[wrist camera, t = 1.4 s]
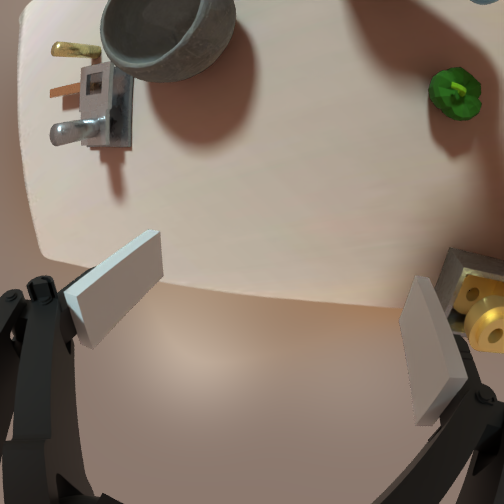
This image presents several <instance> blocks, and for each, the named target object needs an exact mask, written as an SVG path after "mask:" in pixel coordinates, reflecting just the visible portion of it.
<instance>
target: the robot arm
mask: <svg viewBox="0 0 504 504" xmlns="http://www.w3.org/2000/svg"><path fill="white" fill-rule="evenodd" d="M470 1H472V2H474V3H476V4H480V5H487V4H491V3H494V2H496V1H498V0H470ZM163 276H164V275H163V264H162V252H161V238H160V231H155V230H149V229H148V230H147V231H145V232H144V233H142V234H141V235H139V236H138V237H136V238H135V239H134V240H132V241H131V242H129V243H128V244H127V245H125V246H124V247H122V248H121V249H120V250H118V251H117V252H115V253H114V254H113V255H111V256H110V257H109V258H107V259H106V260H105V261H103V262H102V263H101V264H99V265H98V266H95V267H93V268H90V269H88V270H87V271H85V272H84V273H83V274H81V276H79V277H77V278H76V279H75V281H72V282H71V283H70V284H68V285H67V286H66V287H64V288H63V289H62V290H60V291H59V292H58V293H57V291H56V287H55V284H54V280H53V278H52V277H51V276H39V277H36V278H34V279H32V280H31V281H30V282H28V284H27V289H28V293H29V296H30V298H31V300H25V298H24V296H23V293H22V291H21V290H19V289H14V290H13V289H12V290H9V291H7V292H6V293H4V294H3V295H2V296H1V297H0V462H1V457H2V470H3V490H4V503H5V504H123V503H121V502H119V501H117V500H115V499H113V498H111V497H110V496H108V495H106V494H104V493H102V495H101V497H96V496H94V493H93V490H92V488H91V486H90V484H89V482H88V480H87V477H86V474H85V470H84V464H83V458H82V452H81V445H80V437H79V428H78V419H77V407H76V394H75V372H74V371H75V370H74V369H75V368H74V342H73V339H72V338H73V337H74V336H75V335H76V334H77V335H78V338H79V341H80V344H82V345H84V346H86V347H89V348H91V349H94V348H95V347H96V346H97V345H98V344H99V343H100V342H101V341H102V339H103V338H104V337H105V336H106V335H107V334H108V333H109V332H110V331H111V330H112V329H113V328H114V327H115V326H116V324H117V323H118V322H119V321H120V320H121V319H122V318H123V317H124V316H125V315H126V314H127V313H128V312H129V311H130V310H131V309H132V308H133V306H135V305H136V304H137V303H138V301H139V300H140V299H141V298H142V297H143V296H144V295H145V294H146V293H147V292H148V291H149V290H150V289H151V288H152V287H153V286H154V285H155V284H156V283H157V282H158V281H159V280H160V279H161V278H162V277H163ZM399 324H400V329H401V334H402V339H403V344H404V350H405V356H406V361H407V367H408V374H409V381H410V388H411V394H412V403H413V411H414V421H415V426H432V425H433V424H434V423H435V422H436V421H437V419H438V418H439V417H440V423H441V426H440V427H439V428H438V429H437V430H436V432H435V433H434V434H433V435H432V436H431V437H430V438H429V439H428V442H427V444H426V445H425V446H424V447H423V449H422V450H421V451H420V452H419V453H418V455H417V456H416V457H415V458H414V460H413V461H412V462H411V463H410V464H409V465H408V466H407V467H406V469H405V470H404V471H403V472H402V473H401V474H400V475H399V477H397V479H396V480H395V481H394V482H393V483H392V484H391V485H390V486H389V487H388V488H387V489H386V490H385V491H384V492H383V493H382V494H381V495H380V496H379V497H378V498H377V499H376V500H375V501H374V502H373V503H372V504H439V502H440V501H441V499H442V498H443V497H444V496H445V494H446V493H447V491H448V490H449V488H450V487H451V486H452V484H453V482H454V481H455V480H456V478H457V476H458V475H459V474H460V472H461V470H462V469H463V467H464V466H465V464H466V462H467V461H468V459H469V457H470V456H471V454H472V452H473V455H472V458H471V462H470V465H469V468H468V472H467V475H466V477H465V481H464V483H463V486H462V489H461V491H460V494H459V497H458V499H457V502H456V504H504V402H500V401H497V398H496V395H495V393H494V392H493V390H492V389H491V388H490V387H488V386H487V385H484V384H482V383H481V380H480V377H479V374H478V371H477V368H476V366H475V363H474V361H473V357H472V355H471V353H470V350H469V347H468V344H467V342H466V341H465V340H464V339H463V338H462V336H461V335H458V334H453V333H452V331H451V328H450V325H449V323H448V320H447V318H446V316H445V313H444V311H443V308H442V306H441V304H440V301H439V299H438V297H437V294H436V292H435V290H434V288H433V285H432V283H431V281H430V279H429V277H423V276H418V275H415V277H414V280H413V283H412V286H411V289H410V292H409V295H408V297H407V300H406V303H405V306H404V308H403V311H402V313H401V316H400V319H399ZM11 331H12V333H13V335H14V337H13V339H12V340H11V338H10V333H11ZM13 412H14V420H13V438H12V440H11V441H6V437H7V433H8V429H9V426H10V422H11V419H12V415H13ZM473 450H474V451H473Z"/></svg>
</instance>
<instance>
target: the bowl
mask: <svg viewBox="0 0 504 504" xmlns="http://www.w3.org/2000/svg"><path fill="white" fill-rule="evenodd" d="M235 22H236V8H235V4H234V1H233V0H108V2H107V4H106V6H105V9H104V11H103V14H102V18H101V25H100V35H101V41H102V44H103V48H104V50H105V52H106V54H107V56H108V58H109V59H110V60H111V62H112V63H113V64H114V65H115V66H117V67H118V68H119V69H121V70H122V71H124V72H125V73H127V74H129V75H131V76H133V77H135V78H137V79H140V80H144V81H148V82H158V83H162V82H175V81H180V80H184V79H187V78H190V77H192V76H194V75H196V74H198V73H200V72H202V71H203V70H205V69H206V68H208V67H209V66H210V65H212V64H213V63H214V62H215V61H216V59H217V58H218V57H219V56H220V55H221V53H222V52H223V51H224V49H225V48H226V46H227V45H228V43H229V41H230V39H231V37H232V34H233V31H234V27H235Z"/></svg>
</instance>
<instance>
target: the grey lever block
mask: <svg viewBox="0 0 504 504" xmlns="http://www.w3.org/2000/svg"><path fill="white" fill-rule="evenodd" d="M79 92H80V107H79V112H81V120H76V121H69V122H63V123H57V124H54V125H53V126H52V128H51V130H50V140H51V142H52V144H53V145H54V146H60V145H64V144H68V143H72V142H76V141H81V145H87V147H131V123H132V95H133V76H131V75H129V74H127V73H125V72H124V71H122V70H121V69H119V68H118V67H117V66H116V67H114V64H113V63H112V62H111V61H110V62H105V63H100V64H95V65H91V66H87V67H83V68H81V82H80V83H75V84H71V85H66V86H62V87H58V88H54V89H50V98H53V97H59V96H64V95H69V94H74V93H79Z"/></svg>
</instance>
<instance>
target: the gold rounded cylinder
mask: <svg viewBox="0 0 504 504" xmlns="http://www.w3.org/2000/svg"><path fill="white" fill-rule="evenodd" d="M51 54H52V56H59V57H79V58H92V59H96V58H98V57H99V56H100V54H101V47H100V46H94V45H86V44H78V43H68V42H56V43H54V45H53V46H52V49H51Z"/></svg>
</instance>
